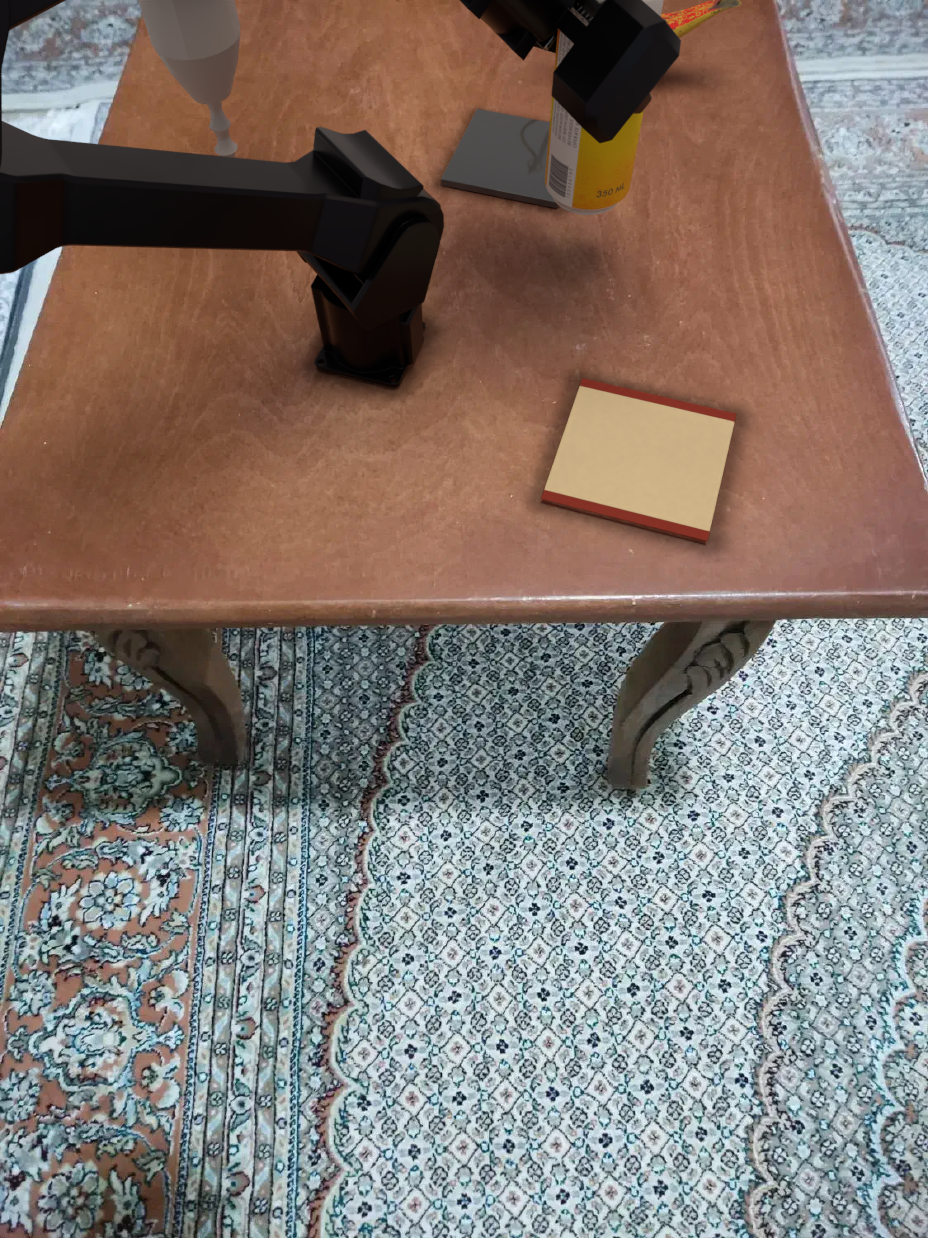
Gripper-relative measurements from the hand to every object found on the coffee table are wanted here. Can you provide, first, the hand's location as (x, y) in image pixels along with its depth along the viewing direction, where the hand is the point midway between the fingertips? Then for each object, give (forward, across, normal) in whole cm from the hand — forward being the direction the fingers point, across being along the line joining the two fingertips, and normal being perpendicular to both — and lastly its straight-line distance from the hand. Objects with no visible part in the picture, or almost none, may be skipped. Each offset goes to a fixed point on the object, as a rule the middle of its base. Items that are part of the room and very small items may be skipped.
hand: (618, 79), depth 57 cm
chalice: (-6, +19, +26) cm, 32 cm away
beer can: (+5, 0, +7) cm, 8 cm away
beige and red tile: (+4, -19, +15) cm, 24 cm away
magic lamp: (+20, +19, -1) cm, 27 cm away
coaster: (+10, +13, +9) cm, 19 cm away
